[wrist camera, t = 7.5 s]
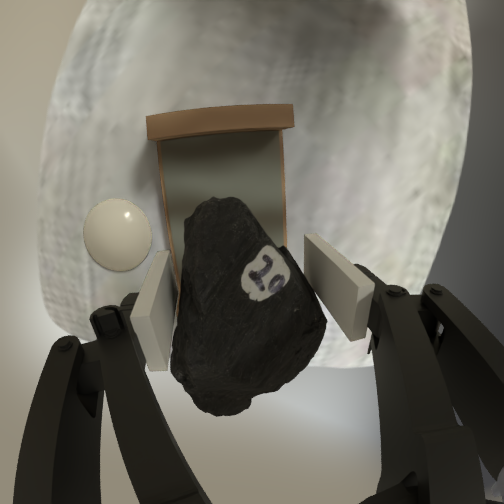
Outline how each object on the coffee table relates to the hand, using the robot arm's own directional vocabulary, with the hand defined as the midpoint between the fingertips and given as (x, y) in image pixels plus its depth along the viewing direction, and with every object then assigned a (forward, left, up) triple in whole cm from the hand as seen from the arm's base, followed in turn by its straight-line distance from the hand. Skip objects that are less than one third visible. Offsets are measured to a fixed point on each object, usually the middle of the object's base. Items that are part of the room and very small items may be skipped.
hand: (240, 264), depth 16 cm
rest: (0, 0, -13) cm, 13 cm away
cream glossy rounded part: (+1, -12, -14) cm, 18 cm away
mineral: (+2, 0, 0) cm, 2 cm away
